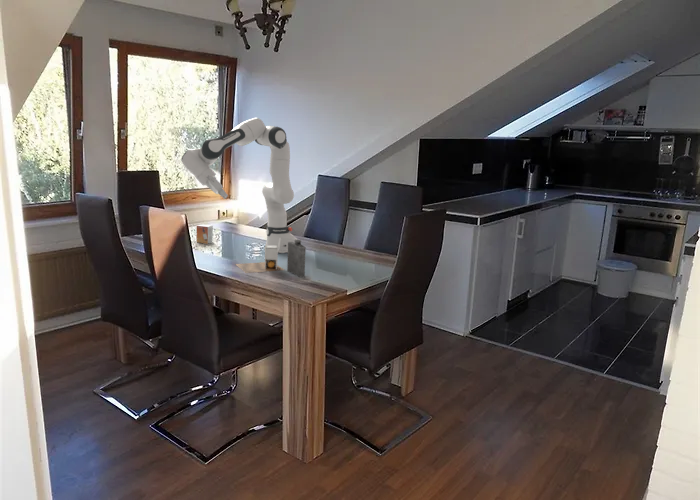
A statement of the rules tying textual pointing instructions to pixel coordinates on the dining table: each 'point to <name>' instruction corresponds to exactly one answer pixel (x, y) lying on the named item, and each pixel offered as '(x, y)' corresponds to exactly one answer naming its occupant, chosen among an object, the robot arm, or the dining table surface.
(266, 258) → the white carton
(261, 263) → the tan flat board
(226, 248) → the dining table surface
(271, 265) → the orange ball
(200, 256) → the dining table surface
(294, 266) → the flask
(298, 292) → the dining table surface
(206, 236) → the small box
